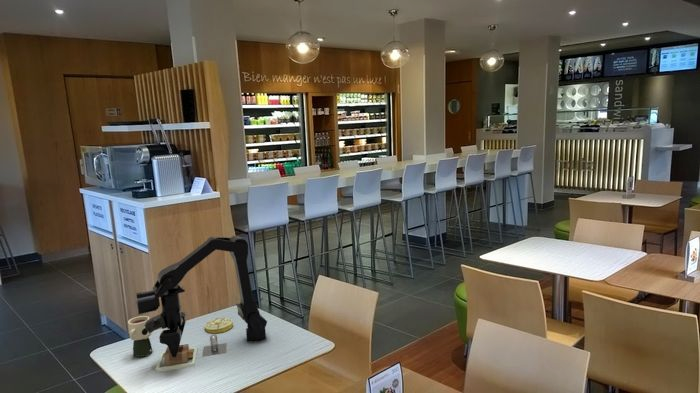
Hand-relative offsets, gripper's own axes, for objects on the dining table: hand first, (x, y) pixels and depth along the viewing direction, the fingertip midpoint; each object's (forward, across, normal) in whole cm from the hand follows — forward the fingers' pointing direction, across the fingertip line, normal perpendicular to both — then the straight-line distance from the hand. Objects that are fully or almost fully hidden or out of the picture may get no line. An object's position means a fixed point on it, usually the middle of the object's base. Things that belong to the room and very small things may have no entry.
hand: (176, 350), depth 160 cm
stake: (+4, -4, +12) cm, 13 cm away
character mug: (+5, -11, -13) cm, 18 cm away
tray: (+4, 0, 0) cm, 4 cm away
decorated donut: (+5, -23, +13) cm, 27 cm away
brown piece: (+4, 0, 0) cm, 4 cm away
